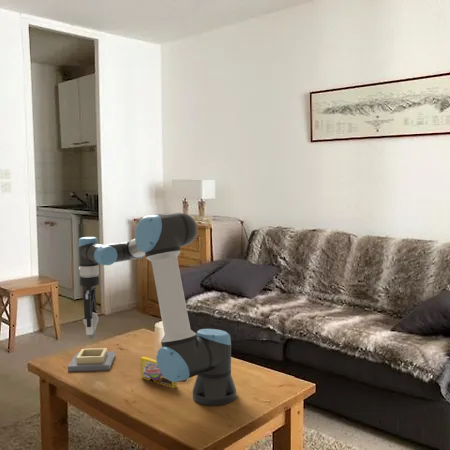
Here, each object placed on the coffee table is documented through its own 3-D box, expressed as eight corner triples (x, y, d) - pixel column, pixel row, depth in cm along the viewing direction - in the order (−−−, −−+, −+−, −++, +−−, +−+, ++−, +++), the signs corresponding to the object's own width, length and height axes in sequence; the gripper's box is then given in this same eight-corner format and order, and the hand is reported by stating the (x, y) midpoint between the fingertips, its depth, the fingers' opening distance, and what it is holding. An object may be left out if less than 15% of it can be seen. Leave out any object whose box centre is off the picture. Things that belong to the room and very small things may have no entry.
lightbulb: (101, 336, 215) (100, 310, 214) (96, 341, 209) (95, 314, 208) (86, 336, 215) (86, 309, 214) (81, 340, 209) (80, 313, 208)
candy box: (140, 378, 197) (140, 357, 196) (144, 377, 199) (144, 355, 198) (173, 388, 188) (172, 366, 187) (177, 386, 189) (176, 364, 188)
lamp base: (109, 370, 206) (109, 358, 205) (68, 371, 205) (67, 360, 204) (115, 355, 222) (114, 345, 221) (76, 357, 221) (76, 346, 220)
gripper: (84, 271, 219) (86, 325, 221) (74, 280, 200) (76, 339, 202) (102, 270, 219) (104, 324, 222) (94, 280, 200) (96, 339, 203)
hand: (91, 331), depth 212 cm, fingers closed on lightbulb, 6 cm apart
